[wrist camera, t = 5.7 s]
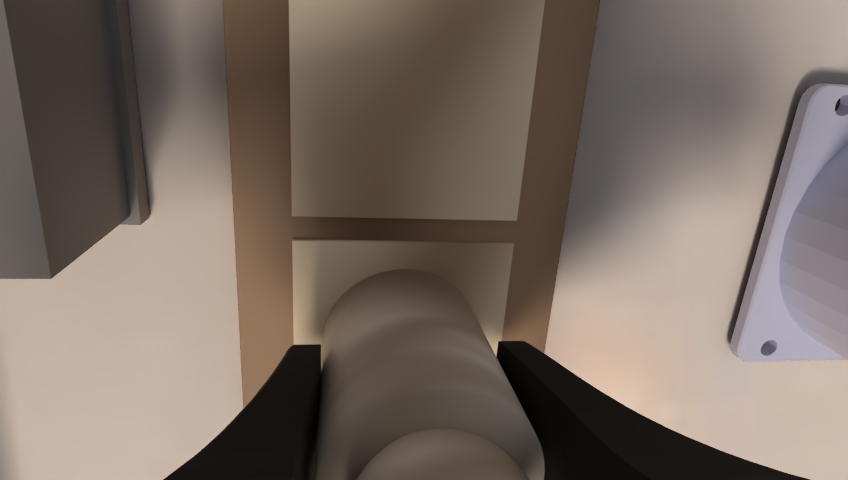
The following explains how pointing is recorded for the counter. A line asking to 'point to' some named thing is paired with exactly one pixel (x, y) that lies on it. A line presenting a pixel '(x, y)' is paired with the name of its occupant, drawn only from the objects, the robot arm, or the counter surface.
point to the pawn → (416, 389)
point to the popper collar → (66, 132)
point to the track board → (400, 156)
